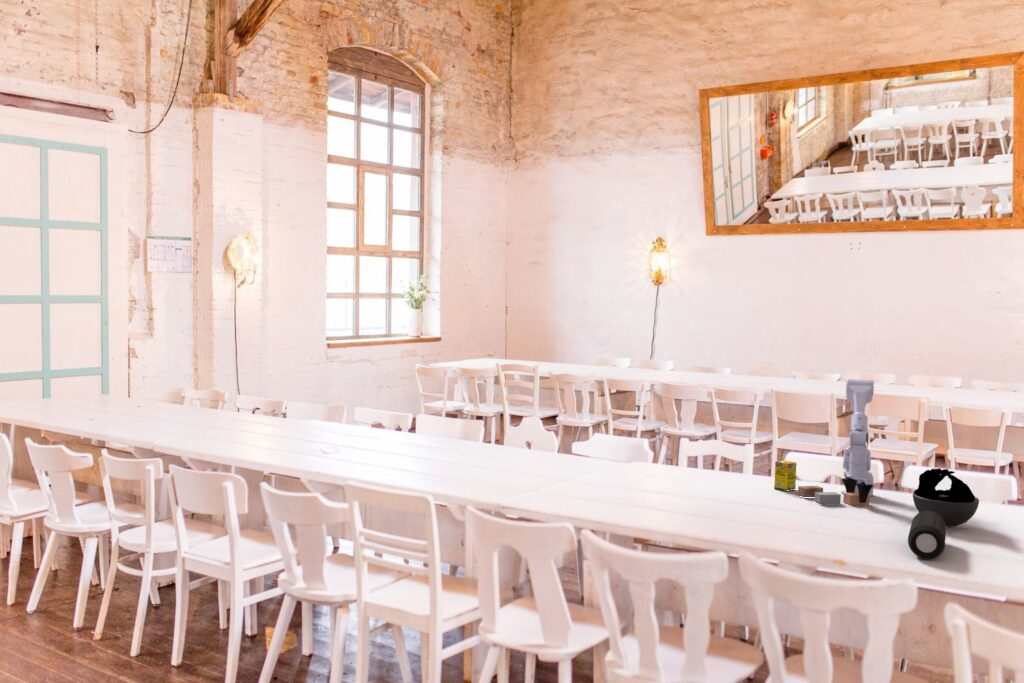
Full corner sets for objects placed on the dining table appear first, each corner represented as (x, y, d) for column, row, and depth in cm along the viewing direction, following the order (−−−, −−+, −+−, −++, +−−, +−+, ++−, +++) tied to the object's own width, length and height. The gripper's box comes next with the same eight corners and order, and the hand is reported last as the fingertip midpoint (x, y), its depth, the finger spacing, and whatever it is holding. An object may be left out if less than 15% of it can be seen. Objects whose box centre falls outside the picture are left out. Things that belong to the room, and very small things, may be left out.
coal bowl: (921, 515, 324) (923, 462, 323) (984, 525, 311) (987, 470, 310) (903, 526, 308) (906, 470, 307) (969, 537, 296) (971, 478, 295)
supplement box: (787, 491, 359) (788, 463, 358) (773, 489, 363) (774, 461, 363) (795, 490, 362) (797, 462, 362) (782, 487, 367) (783, 459, 366)
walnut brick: (817, 496, 353) (817, 485, 353) (822, 498, 349) (823, 488, 349) (797, 496, 351) (798, 486, 351) (803, 499, 347) (803, 488, 347)
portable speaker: (944, 563, 266) (945, 529, 266) (906, 558, 271) (908, 525, 270) (945, 542, 289) (947, 511, 289) (911, 538, 294) (912, 507, 293)
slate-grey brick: (834, 502, 342) (835, 492, 342) (840, 505, 338) (840, 494, 338) (814, 503, 341) (814, 492, 341) (819, 505, 337) (820, 494, 337)
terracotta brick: (862, 503, 343) (863, 492, 343) (869, 505, 339) (869, 494, 339) (843, 503, 341) (843, 492, 341) (849, 506, 337) (849, 495, 337)
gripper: (837, 459, 345) (835, 496, 346) (859, 467, 331) (858, 505, 332) (854, 459, 347) (852, 495, 348) (877, 466, 333) (875, 504, 334)
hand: (856, 500), depth 340 cm, fingers open, 7 cm apart
